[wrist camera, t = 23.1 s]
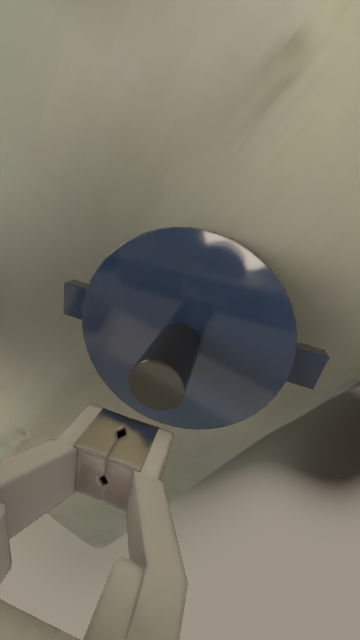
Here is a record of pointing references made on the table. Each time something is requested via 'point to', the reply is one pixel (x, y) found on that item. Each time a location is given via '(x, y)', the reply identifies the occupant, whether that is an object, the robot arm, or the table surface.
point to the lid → (189, 328)
